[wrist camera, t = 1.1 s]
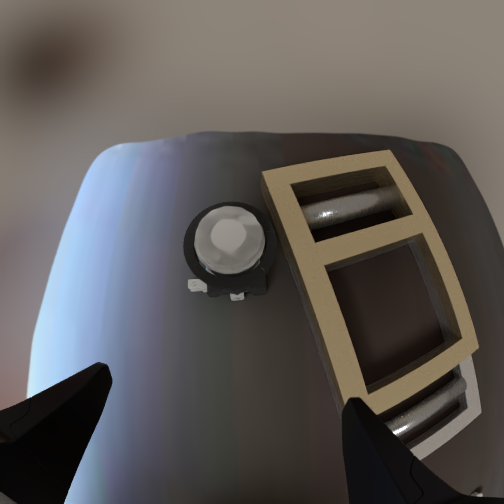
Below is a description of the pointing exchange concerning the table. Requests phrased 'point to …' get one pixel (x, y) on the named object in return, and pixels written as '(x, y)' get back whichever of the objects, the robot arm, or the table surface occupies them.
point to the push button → (230, 250)
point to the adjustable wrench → (476, 494)
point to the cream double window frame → (361, 248)
